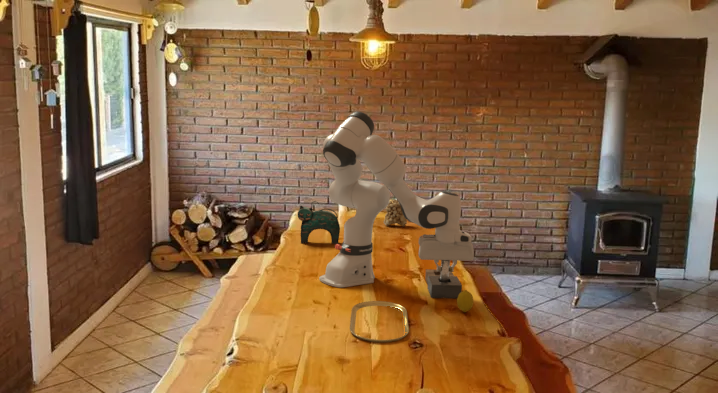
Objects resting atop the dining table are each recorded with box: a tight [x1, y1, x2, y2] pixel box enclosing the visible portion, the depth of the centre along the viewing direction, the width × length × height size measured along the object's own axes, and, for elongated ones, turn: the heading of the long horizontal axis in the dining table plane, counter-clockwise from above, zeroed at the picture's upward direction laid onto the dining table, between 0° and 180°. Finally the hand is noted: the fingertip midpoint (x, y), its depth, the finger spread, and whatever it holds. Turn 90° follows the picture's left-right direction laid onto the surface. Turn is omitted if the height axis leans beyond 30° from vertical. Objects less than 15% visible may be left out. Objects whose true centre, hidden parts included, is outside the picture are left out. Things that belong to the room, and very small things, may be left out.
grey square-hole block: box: [427, 275, 463, 299], centre depth 255 cm, size 11×11×5 cm
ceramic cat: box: [297, 200, 341, 245], centre depth 321 cm, size 20×6×20 cm, turn 92°
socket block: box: [424, 268, 455, 286], centre depth 267 cm, size 10×10×4 cm
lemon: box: [456, 289, 474, 313], centre depth 236 cm, size 6×6×8 cm
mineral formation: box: [383, 198, 408, 227], centre depth 361 cm, size 8×13×15 cm, turn 93°
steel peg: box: [440, 260, 451, 282], centre depth 254 cm, size 3×3×11 cm
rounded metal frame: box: [349, 300, 410, 343], centre depth 225 cm, size 19×35×2 cm, turn 178°
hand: (445, 271), depth 254 cm, fingers closed on steel peg, 3 cm apart
